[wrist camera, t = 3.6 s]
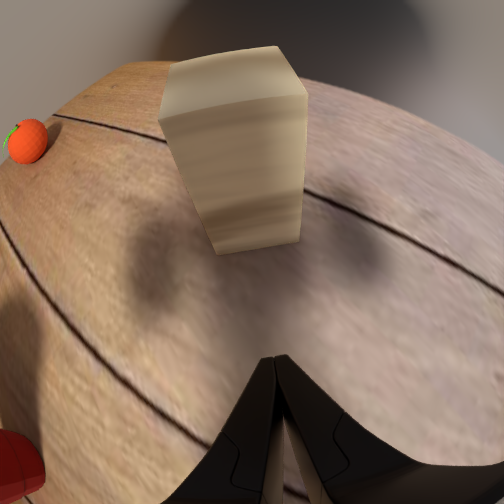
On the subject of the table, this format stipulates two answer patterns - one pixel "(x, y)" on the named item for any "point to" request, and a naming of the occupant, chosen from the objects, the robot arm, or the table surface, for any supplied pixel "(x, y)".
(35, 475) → the plastic cup
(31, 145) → the clementine
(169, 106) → the block
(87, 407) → the table surface
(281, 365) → the robot arm
